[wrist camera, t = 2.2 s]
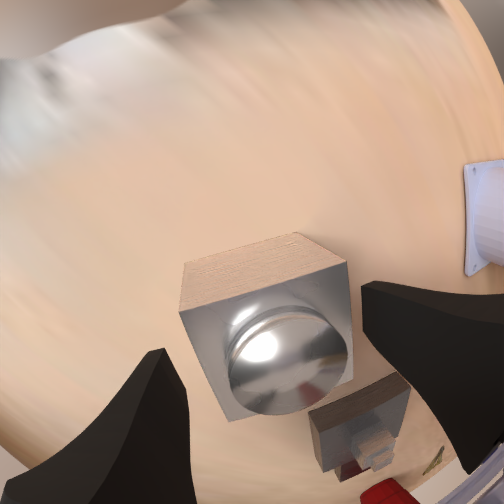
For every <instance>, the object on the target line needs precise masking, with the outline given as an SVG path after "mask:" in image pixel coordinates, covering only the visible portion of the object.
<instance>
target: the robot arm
mask: <svg viewBox="0 0 504 504" xmlns="http://www.w3.org/2000/svg"><path fill="white" fill-rule="evenodd" d="M464 180H465V194H466V221H467V232H466V259H465V275H467V276H471V275H473V274H474V273H476V272H477V271H479V270H480V269H482V268H483V267H485V266H486V265H488V264H489V263H490V262H493V263H495V264H498V265H500V266H502V267H504V159H501V160H493V161H485V162H478V163H471V164H466V165H465V167H464ZM361 296H362V319H363V332H364V333H365V335H366V336H367V338H368V339H369V340H370V342H371V343H372V344H373V346H374V347H375V348H376V350H377V351H378V352H379V353H380V354H381V355H382V356H383V357H384V358H385V359H386V360H387V361H388V362H389V363H390V364H391V365H392V366H393V367H394V368H395V369H396V370H397V371H398V372H399V373H400V374H401V375H402V376H403V377H404V378H405V379H406V380H407V381H408V382H409V383H410V384H411V385H412V386H413V387H414V388H415V389H416V390H417V392H418V393H419V394H420V396H421V397H422V398H423V400H424V401H425V402H426V404H427V405H428V406H429V408H430V409H431V411H432V412H433V414H434V415H435V417H436V418H437V420H438V421H439V423H440V424H441V426H442V428H443V429H444V431H445V433H446V434H447V436H448V438H449V440H450V441H451V443H452V445H453V447H454V450H455V452H456V454H457V456H458V458H459V460H460V462H461V465H462V467H463V469H464V470H465V471H466V473H467V474H468V475H470V474H471V473H472V472H473V471H474V470H476V468H478V467H479V466H480V465H481V464H482V463H483V462H484V461H485V460H486V459H487V458H488V457H489V456H490V455H491V454H492V453H493V452H494V451H495V450H496V448H497V447H498V446H499V445H500V444H501V443H502V445H501V446H500V447H499V448H498V449H497V450H496V451H495V452H494V453H493V455H492V456H491V457H490V458H489V459H488V460H487V461H486V462H485V463H484V464H483V465H482V466H481V467H480V468H478V469H477V470H476V471H475V472H474V473H473V474H472V475H471V476H470V477H469V478H468V479H466V480H465V481H464V482H463V483H462V484H461V485H459V486H458V487H457V488H456V489H455V490H453V491H452V492H451V493H450V494H448V495H447V496H446V497H445V498H443V499H442V500H440V501H439V502H438V503H436V504H466V503H467V502H468V501H469V500H471V499H472V498H473V497H474V496H475V495H476V494H477V493H479V491H481V490H482V489H483V488H484V487H485V486H486V485H487V484H488V483H489V482H490V481H491V480H492V479H493V478H494V477H495V476H496V475H497V474H498V472H499V471H500V470H501V469H502V468H503V467H504V294H492V295H471V294H455V293H447V292H439V291H433V290H427V289H421V288H416V287H411V286H406V285H400V284H395V283H389V282H383V281H372V282H370V283H367V284H365V285H362V286H361ZM0 504H197V501H196V496H195V491H194V486H193V481H192V475H191V464H190V420H189V407H188V400H187V393H186V388H185V387H184V385H183V383H182V381H181V379H180V377H179V375H178V373H177V372H176V370H175V368H174V366H173V364H172V362H171V360H170V358H169V356H168V354H167V352H166V350H165V348H161V349H157V350H153V351H149V352H148V353H147V354H146V355H145V356H144V358H143V359H142V360H141V362H140V363H139V364H138V366H137V367H136V368H135V370H134V371H133V373H132V374H131V375H130V377H129V378H128V379H127V381H126V382H125V383H124V385H123V386H122V388H121V389H120V390H119V391H118V393H117V394H116V395H115V396H114V398H113V399H112V400H111V401H110V403H109V404H108V405H107V406H106V408H105V409H104V410H103V411H102V412H101V413H100V415H99V416H98V417H97V418H96V419H95V420H94V421H93V422H92V423H91V424H90V425H89V426H88V427H87V428H86V429H85V430H84V431H83V432H82V433H81V434H80V435H79V436H77V437H76V438H75V439H74V440H73V441H71V442H70V443H69V444H68V445H67V446H65V447H64V448H63V449H62V450H60V451H59V452H58V453H56V454H55V455H53V456H52V457H51V458H49V459H48V460H46V461H44V462H43V463H41V464H40V465H38V466H36V467H34V468H33V469H31V470H29V471H27V472H25V473H23V474H20V475H18V476H16V477H14V478H12V479H9V480H8V481H7V482H6V485H5V487H4V491H3V494H2V498H1V501H0ZM473 504H504V469H503V475H502V477H501V478H499V479H498V480H497V481H496V482H495V483H494V484H493V485H492V486H491V487H490V488H489V489H488V490H486V492H484V493H483V494H482V495H481V496H480V497H479V498H478V499H477V500H476V501H475V502H474V503H473Z"/></svg>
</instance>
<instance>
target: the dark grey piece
mask: <svg viewBox="0 0 504 504" xmlns="http://www.w3.org/2000/svg"><path fill="white" fill-rule="evenodd" d="M410 390H411V386H410V385H409V384H408V383H407V382H406V381H405V380H404V379H403V378H402V377H401V376H400V375H399V374H398V373H397V372H394V373H393V374H391V375H389V376H387V377H385V378H383V379H381V380H380V381H378V382H376V383H374V384H372V385H370V386H368V387H366V388H364V389H362V390H360V391H357V392H355V393H353V394H351V395H349V396H347V397H344V398H342V399H340V400H337V401H335V402H333V403H330V404H328V405H326V406H323V407H321V408H318V409H315V410H313V411H310V412H308V414H309V420H310V426H311V433H312V439H313V445H314V451H315V457H316V459H317V461H318V463H319V465H320V467H321V469H322V471H323V473H324V472H327V471H329V470H332V469H334V468H335V474H336V476H337V478H338V479H339V481H340V482H342V481H345V480H347V479H349V478H352V477H354V476H356V475H358V474H360V473H362V472H364V471H366V470H368V469H370V468H372V470H373V472H376V471H377V470H379V469H381V468H383V467H385V466H387V465H388V464H390V463H391V462H392V460H393V457H394V454H393V453H392V451H393V448H394V445H395V442H396V440H395V439H394V438H396V437H398V434H399V431H400V428H401V425H402V421H403V418H404V414H405V410H406V407H407V403H408V399H409V394H410Z"/></svg>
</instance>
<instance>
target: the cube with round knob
mask: <svg viewBox="0 0 504 504" xmlns="http://www.w3.org/2000/svg"><path fill="white" fill-rule="evenodd" d="M179 315H180V317H181V320H182V322H183V325H184V327H185V329H186V332H187V334H188V337H189V339H190V341H191V344H192V346H193V348H194V351H195V353H196V355H197V358H198V360H199V362H200V364H201V367H202V369H203V371H204V373H205V375H206V377H207V380H208V382H209V384H210V386H211V388H212V390H213V392H214V394H215V396H216V398H217V400H218V402H219V404H220V406H221V408H222V410H223V412H224V414H225V416H226V418H227V420H228V422H231V421H235V420H239V419H243V418H247V417H250V416H254V415H257V414H264V415H283V414H289V413H293V412H296V411H300V410H302V409H305V408H307V407H309V406H311V405H313V404H314V403H316V402H318V401H319V400H321V399H322V398H323V397H325V396H326V395H327V394H328V393H329V392H330V391H331V390H332V389H333V388H334V387H336V386H339V385H341V384H343V383H345V382H348V381H350V380H352V379H353V339H352V318H351V303H350V291H349V280H348V269H347V261H346V260H344V259H342V258H340V257H339V256H337V255H335V254H334V253H332V252H330V251H328V250H327V249H325V248H323V247H321V246H320V245H318V244H316V243H314V242H313V241H311V240H309V239H307V238H306V237H304V236H302V235H300V234H298V233H297V232H294V233H290V234H286V235H283V236H279V237H276V238H272V239H268V240H265V241H261V242H258V243H254V244H251V245H247V246H243V247H240V248H236V249H233V250H229V251H226V252H222V253H219V254H215V255H212V256H208V257H205V258H201V259H198V260H194V261H191V262H187V263H184V271H183V278H182V286H181V294H180V303H179Z"/></svg>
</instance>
